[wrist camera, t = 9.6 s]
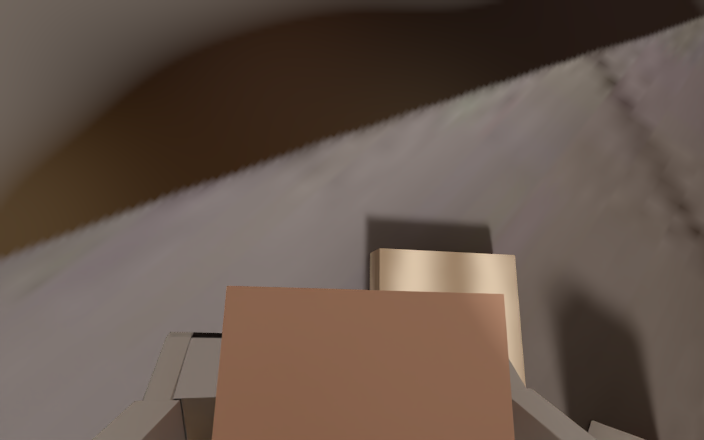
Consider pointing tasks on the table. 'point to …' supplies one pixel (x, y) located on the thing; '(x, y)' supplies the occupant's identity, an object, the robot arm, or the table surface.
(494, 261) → the birch stand
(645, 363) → the table surface
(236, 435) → the block
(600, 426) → the ink cartridge box
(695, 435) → the table surface
